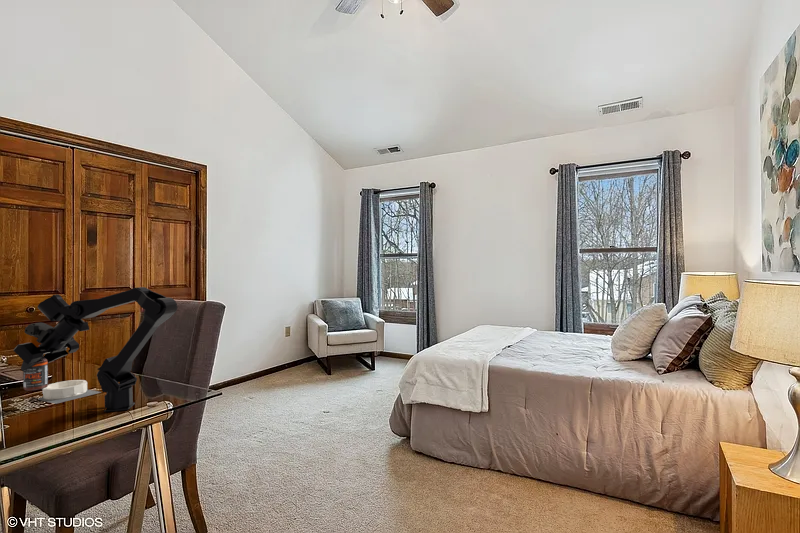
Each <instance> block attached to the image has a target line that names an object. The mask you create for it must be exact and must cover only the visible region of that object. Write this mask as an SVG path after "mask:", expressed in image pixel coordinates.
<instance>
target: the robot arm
mask: <svg viewBox="0 0 800 533" xmlns="http://www.w3.org/2000/svg"><path fill="white" fill-rule="evenodd" d="M135 302H136V303H137V305H138V306H140V308H141V309H143V310H144V313H143V319H142V322H141V323H140V324H139V326H138V327H137V328H136V329H135V330H134V332H133V333H132V335H131V336H130V337H129V339H128V341H127V342H126V343H125V345H124V346H122V348H121V349H120V351H119V352H118V354H117V355H115V356H111V357H107V358H105V359H104V360H103V362H102V364H101V365H100V366H99V367H98V368H97V370H98V371H97V373H96V377H97V378H96V379H97V381H98V383H99V386H100V388H101V391H102V393H106V394H105V395H104V412H105V413H107V412H119V411H128V410H129V409H131V408H132V407H133V406H135V405H136V403H135V402H134V401H133V398H134V397H133V395H134V394H133V392H134V391H133V386H135V385H137V380H138V377H136V376H135V375H134V373H132V372H131V371H132V369H133V363H134V360H135V359H136V357H137V356H138V355H139V354H140V352H141V351H142V349H143V348H144V347H145V345H146V344H147V343H148V341H149V340H150V338H151V337H152V336H153V335H154V333H155V332H156V331H157V329H158V328H159V327H160V326H161V325H163V323H165V322H166V321H167V320H169V319H170V318H172V317H173V316H174V314H175V313H176V312H177V311H178V304H177V301H176V300H175V299H174V298H172V297H169V296H168V297H167V296H165V295H163V294H161V293H158V292H155V291H153V290H151V289H149V288H147V287H145V286H141V287H140V286H139V287H133V288H131V289H129V290H126V291H122V292H118V293H114V294H111V295H107V296H104V297H100V298H94V299H92V298H91V299H83V300H75V301H72V302H70V304H69V303H67V301H66V300H65V299H63V297H62V296H61V295H60V294H53V295H51V296H49V297H48V298H46V299H44V300H42V301H41V302H39V303H38V305H37V309H38V310H39V311H40V312H41V313H42V314H43V315H44V316H45V317H46V318H47V320H49V321H50V322H58V323H57V324H56V325H55V326H52V325H50V324H47V323H45V322H35V323H34V322H33V323H29V324H28V325H27V326H26V327H24V333H25V335H29V336H32V337H34V338H36V342H37V343H38V344H39V345H38V346H36V345H35V344H34V343H33V342H25V343H20V344H17V345H16V346H15V347H14V348H13V352H14V353H15V354H16V355H17V356H18V357H19V358H20V359H21V360H22V363H21V367H20V370H21V371H22V372H23V371H25V370H27V369H29V368H30V367H32V366H34V365H36V364H38V363H39V362H41V361H42V360H41V358H42V356H43V354H44V356H43V357H44V358H46V359H47V361H48V364H50V363H52V362H54V361H56V360H58V359H61V358H63V357H66V356H68V355H69V354H72V353H76V352H77V351H78V350H79V349H80V344H79V342H78V341H77V340H76V339H75V338H74V336H75V335H76V334H77V333H78V332H85V331H89V330H90V326H89V322H88V321H84V320H83V319H91V318H95V317H97V316H99V315H101V314H103V313H105V312H106V311H107V310H109V309H113V308H116V307H121V306H124V305H128V304H130V303H135Z"/></svg>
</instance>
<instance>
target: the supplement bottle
mask: <svg viewBox="0 0 800 533" xmlns="http://www.w3.org/2000/svg"><path fill="white" fill-rule="evenodd" d="M44 355H45V354H43V356H42V358H41V360H42V361H41V362H39V363H38V364H36V365H34V366H32V367H30V368H29V369H27V370H25V371H22V372H23V373H22V374H23V376H22V377H23V384H22V385H23V390H24V391H27V392H28V391H39V390H43V388H46V387H47V386H48V385H49V376H48V375H49V367H48V364H49V363H48V361H47V359H46V358H44Z"/></svg>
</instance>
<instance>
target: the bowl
mask: <svg viewBox="0 0 800 533" xmlns="http://www.w3.org/2000/svg"><path fill="white" fill-rule="evenodd" d="M87 389H88V381H87V380H85V379H72V380H64V381H57V382H55V383H54V382H53V383H48V386H47V387H46V388H43V389H42V394H43V399H45V400H58V399H66V398H71V397H76V396H79V395H82V394H84V393H86V392H87Z"/></svg>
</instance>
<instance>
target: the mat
mask: <svg viewBox="0 0 800 533" xmlns="http://www.w3.org/2000/svg"><path fill="white" fill-rule="evenodd" d="M101 393H102V392H101V391H98V390H94V389H93V390H92V389H88V388H87V392H86V393H84V394H82V395H79V396H76V397H71V398H66V399H58V400H45V399H43V397H42V398H39V399H38V400H39V401H41V402H42V401H43V402H45V403H46V402H47V403H51V404H55V405H57V404H60V403H65V402H68V401H72V400H76V399H81V398H85V397H88V396H93V395H97V394H101Z"/></svg>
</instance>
